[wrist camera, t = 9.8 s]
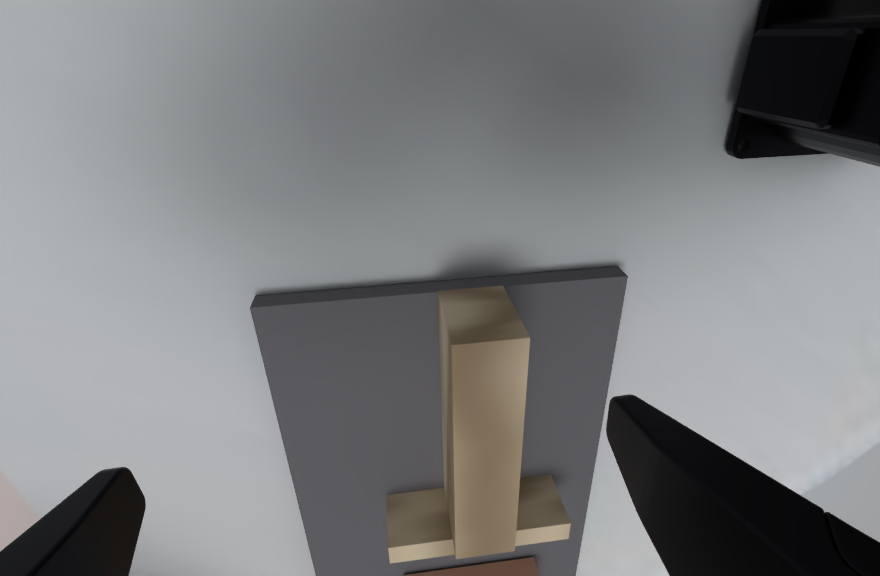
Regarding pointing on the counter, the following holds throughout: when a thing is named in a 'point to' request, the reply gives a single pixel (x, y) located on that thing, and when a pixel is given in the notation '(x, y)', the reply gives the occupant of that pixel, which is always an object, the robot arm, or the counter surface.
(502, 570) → the terracotta tile
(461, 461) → the beech scraper
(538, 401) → the charcoal mat
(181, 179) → the counter surface
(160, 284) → the counter surface
